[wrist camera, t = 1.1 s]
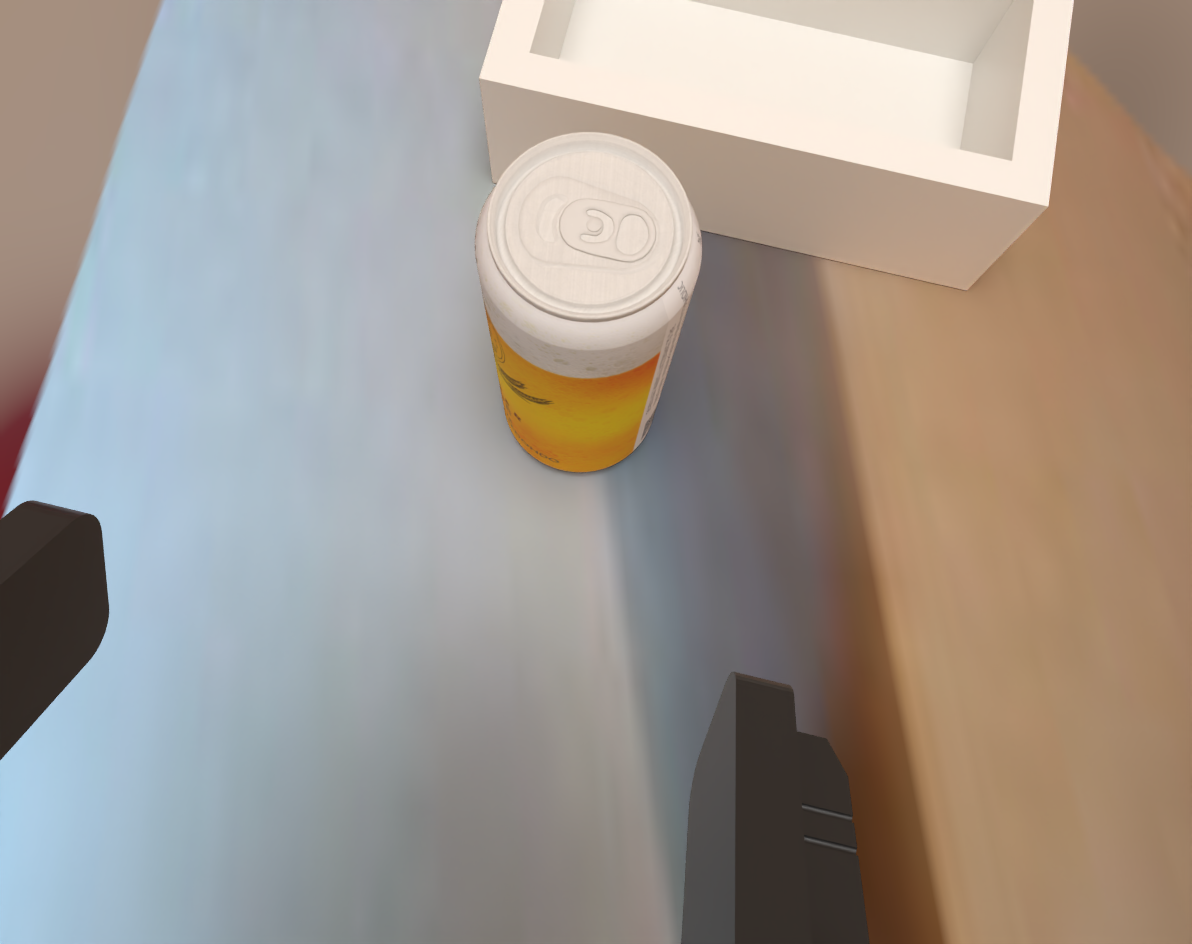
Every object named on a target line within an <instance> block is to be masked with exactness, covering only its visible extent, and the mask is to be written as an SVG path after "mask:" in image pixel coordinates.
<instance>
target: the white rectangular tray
mask: <svg viewBox="0 0 1192 944" xmlns="http://www.w3.org/2000/svg"><path fill="white" fill-rule="evenodd" d="M1073 2H1074V0H503V2H502V5H501V8H500V12H499V15H498V18H497V21H496V25H495V28H494V31H493V34H492V38H491V41H490V44H489V48H488V51H487V54H486V57H485V61H484V64H483V67H482V71H481V74H480V77H479V81H480V89H481V96H482V104H483V112H484V119H485V127H486V135H487V142H488V150H489V158H490V165H491V173H492V181H493V183H496V184H497V182H498V180H499V179H500V177H501V176H502V174H503V173H504V171H505V170H506V169H507V168H508V167H509V166H510V164H511V163H512V162H513V161H514V160H515V159H517V158H518V157H519V156H520V155H521V154H523V153H524V152H525V151H527V150H528V149H530V148H531V147H533V146H535V145H537V144H538V143H540V142H543V141H545V140H547V139H550V138H553V137H556V136H560V135H564V134H569V133H577V132H599V133H607V134H612V135H616V136H620V137H623V138H626V139H629V140H631V141H633V142H636V143H638V144H640V145H642V146H643V147H645V148H647V149H648V150H650V151H651V152H653V153H654V154H655V155H657V156H658V157H659V158H660V159H661V160H662V161H664V162H665V163H666V164H667V165H668V167H669V168H670V169H671V170H672V171H673V172H674V174H675V175H676V177H677V178H678V180H679V181H680V183H681V185H682V187H683V189H684V190H685V193H686V195H687V198H688V199H689V201H690V203H691V205H692V207H693V209H694V211H695V214H696V217H697V220H698V223H699V227H700V230H702V231H707V232H711V233H715V234H720V235H724V236H729V237H733V238H737V239H742V240H746V241H751V242H755V243H759V244H764V245H768V246H773V247H777V248H781V249H786V250H790V251H795V252H799V253H803V254H808V255H812V256H816V257H821V258H825V259H830V260H834V261H838V262H843V263H847V264H852V265H856V266H860V267H865V268H869V269H874V270H878V271H882V272H887V273H891V274H895V275H900V276H904V277H909V278H913V279H917V280H922V281H926V282H931V283H935V284H939V285H944V286H948V287H953V288H957V289H961V290H966V291H967V290H968V289H969V288H970V287H971V286H972V285H973V283H974V282H975V281H976V280H977V279H978V278H979V277H980V276H981V275H982V274H983V273H984V272H985V271H986V270H987V269H988V268H989V267H990V266H991V265H992V264H993V263H994V262H995V261H996V260H997V259H998V258H999V257H1000V256H1001V255H1002V254H1003V253H1004V252H1005V251H1006V250H1007V248H1008V247H1009V246H1010V245H1011V244H1012V243H1013V242H1014V241H1015V240H1016V239H1017V238H1018V237H1019V236H1020V235H1021V234H1022V233H1023V232H1024V231H1025V230H1026V229H1027V228H1028V227H1029V226H1030V225H1031V224H1032V223H1033V222H1034V221H1035V220H1036V219H1037V218H1038V217H1039V216H1040V215H1041V213H1042V212H1043V211H1044V210H1045V209H1046V208H1047V207H1048V205H1049V197H1050V189H1051V181H1052V172H1053V164H1054V156H1055V148H1056V140H1057V132H1058V124H1059V116H1060V107H1061V99H1062V91H1063V83H1064V75H1065V67H1066V59H1067V51H1068V43H1069V34H1070V26H1071V18H1072V10H1073Z"/></svg>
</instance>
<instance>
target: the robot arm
mask: <svg viewBox="0 0 1192 944" xmlns="http://www.w3.org/2000/svg"><path fill="white" fill-rule="evenodd" d="M108 618H109V603H108V592H107V582H106V571H105V560H104V550H103V539H102V530H101V525H100V522H99V521H98V519H97V518H96V517H95V516H94V515H91V514H88V513H84V512H80V511H75V510H71V509H67V508H63V507H59V506H55V505H51V504H46V503H42V502H38V501H26V502H24V503H22V504H20V505H19V506H17V507H16V508H15V509H13V510H12V511H11V512H10V513H8V514H7V515H6V516H5V517H3V518H2V519H1V520H0V760H1V759H2V758H3V757H4V756H5V754H6V753H7V752H8V751H9V750H10V749H11V748H12V747H13V745H14V744H15V743H16V742H17V741H18V740H19V739H20V738H21V737H22V735H23V734H24V733H25V732H26V731H27V730H28V729H29V728H30V726H31V725H32V724H33V723H34V722H35V721H36V720H37V719H38V717H39V716H40V715H41V714H42V713H43V712H44V711H45V710H46V709H47V707H48V706H49V705H50V704H51V703H52V702H53V701H54V700H55V698H56V697H57V696H58V695H59V694H60V693H61V692H62V691H63V689H64V688H65V687H66V686H67V685H68V684H69V683H70V682H71V680H72V679H73V678H74V677H75V676H76V675H77V674H78V673H79V672H80V670H81V669H82V668H83V667H84V666H85V665H86V664H87V663H88V661H89V660H90V659H91V658H92V657H93V655H94V654H95V652H96V651H97V649H98V647H99V645H100V643H101V641H102V639H103V636H104V634H105V631H106V627H107V623H108ZM852 816H853V813H852V805H851V797H850V789H849V782H848V776H847V774H846V772H845V771H844V769H843V767H842V765H841V763H840V762H839V760H838V758H837V756H836V755H835V753H834V751H833V749H832V748H831V746H830V744H829V742H828V740H827V739H826V738H822V737H817V736H813V735H809V734H805V733H801V732H797V730H796V716H795V703H794V692H793V689H792V687H791V686H790V685H786V684H782V683H778V682H774V681H769V680H765V679H761V678H757V677H753V676H749V675H745V674H740V673H736V672H731V673H730V675H729V677H728V679H727V681H726V683H725V686H724V689H723V691H722V694H721V697H720V700H719V702H718V705H717V708H716V711H715V713H714V716H713V719H712V722H711V724H710V727H709V730H708V733H707V735H706V738H705V741H704V744H703V746H702V749H701V752H700V755H699V758H698V761H697V765H696V768H695V773H694V777H693V782H692V788H691V794H690V802H689V816H688V833H687V851H686V868H685V886H684V904H683V921H682V939H681V944H869V936H868V929H867V921H866V913H865V905H864V898H863V890H862V882H861V874H860V867H859V859H858V856H856V849H857V843H856V836H855V828H854V823H852Z"/></svg>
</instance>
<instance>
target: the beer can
mask: <svg viewBox="0 0 1192 944" xmlns="http://www.w3.org/2000/svg"><path fill="white" fill-rule="evenodd" d="M475 256H476V262H477V268H478V273H479V279H480V284H481V289H482V294H483V299H484V305H485V310H486V315H487V320H488V326H489V331H490V336H491V341H492V347H493V352H494V357H495V362H496V368H497V373H498V378H499V383H500V389H501V394H502V399H503V404H504V409H505V415H506V418H507V422H508V425H509V427H510V429H511V431H512V433H513V435H514V437H515V438H516V440H517V441H518V442H519V444H520V445H521V446H522V447H523V448H524V449H525V450H526V451H527V452H528V453H529V454H530V455H532V456H533V457H534V458H536V459H537V460H539V461H540V462H542V463H544V464H546V465H548V466H550V467H553V468H556V469H559V470H564V471H570V472H590V471H596V470H601V469H604V468H607V467H610V466H612V465H614V464H616V463H618V462H620V461H621V460H623V459H624V458H626V457H627V456H628V455H630V454H631V453H632V452H633V451H634V450H635V449H636V448H637V447H638V446H639V444H640V443H641V442H642V440H643V439H644V437H645V436H646V434H647V432H648V430H649V428H650V425H651V423H652V420H653V417H654V413H655V410H656V407H657V404H658V401H659V398H660V394H661V391H662V388H663V385H664V382H665V379H666V375H667V372H668V369H669V366H670V363H671V360H672V356H673V353H674V350H675V347H676V344H677V341H678V337H679V334H680V331H681V328H682V325H683V322H684V318H685V315H686V312H687V309H688V306H689V303H690V299H691V296H692V293H693V290H694V287H695V284H696V281H697V277H698V274H699V270H700V265H701V258H702V240H701V232H700V227H699V223H698V220H697V217H696V214H695V211H694V209H693V207H692V205H691V203H690V201H689V199H688V198H687V195H686V193H685V190H684V189H683V187H682V185H681V183H680V181H679V180H678V178H677V177H676V175H675V174H674V172H673V171H672V170H671V169H670V168H669V167H668V165H667V164H666V163H665V162H664V161H662V160H661V159H660V158H659V157H658V156H657V155H655V154H654V153H653V152H651V151H650V150H648V149H647V148H645V147H643V146H642V145H640V144H638V143H636V142H633V141H631V140H629V139H626V138H623V137H620V136H616V135H612V134H607V133H599V132H577V133H569V134H564V135H560V136H556V137H553V138H550V139H547V140H545V141H543V142H540V143H538V144H537V145H535V146H533V147H531V148H530V149H528V150H527V151H525V152H524V153H523V154H521V155H520V156H519V157H518V158H517V159H515V160H514V161H513V162H512V163H511V164H510V166H509V167H508V168H507V169H506V170H505V171H504V173H503V174H502V176H501V177H500V179H499V180H498V182H497V184H496V186H495V187H494V188H493V190H492V191H491V193H490V194H489V196H488V198H487V200H486V202H485V204H484V205H483V207H482V210H481V213H480V216H479V219H478V223H477V228H476V234H475Z"/></svg>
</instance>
